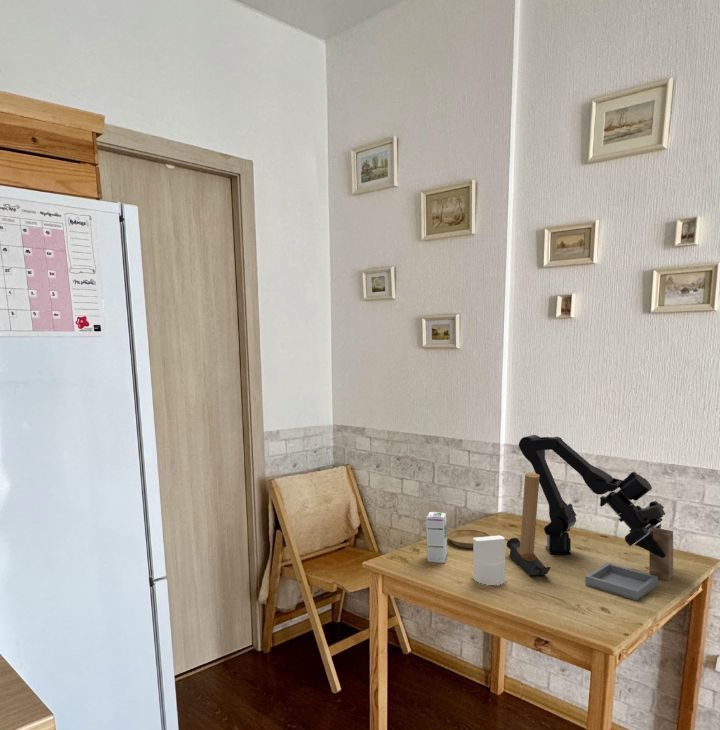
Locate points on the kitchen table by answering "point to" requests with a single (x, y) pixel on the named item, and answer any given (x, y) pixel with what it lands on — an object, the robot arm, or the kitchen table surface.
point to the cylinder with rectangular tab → (489, 560)
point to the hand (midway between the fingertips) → (666, 554)
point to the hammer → (528, 530)
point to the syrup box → (436, 537)
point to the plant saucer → (465, 537)
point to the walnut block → (665, 542)
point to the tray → (622, 581)
